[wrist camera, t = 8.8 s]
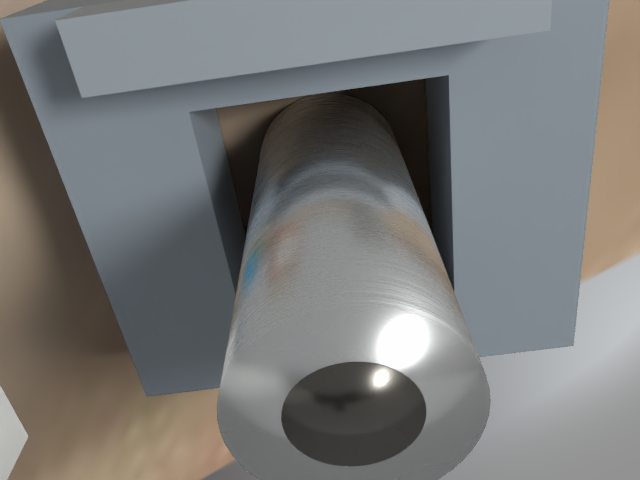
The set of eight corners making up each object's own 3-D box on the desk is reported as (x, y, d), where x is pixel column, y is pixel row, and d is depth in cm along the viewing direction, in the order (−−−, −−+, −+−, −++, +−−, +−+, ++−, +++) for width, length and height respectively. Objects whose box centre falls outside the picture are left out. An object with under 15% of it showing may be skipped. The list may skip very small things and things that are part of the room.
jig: (167, 329, 23) (133, 439, 18) (55, -3, 17) (-41, 35, 12) (536, 284, 22) (597, 385, 17) (557, -80, 16) (660, -71, 11)
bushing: (273, 229, 20) (246, 516, 11) (248, 103, 18) (186, 327, 9) (402, 212, 20) (489, 490, 11) (392, 83, 18) (492, 289, 8)
